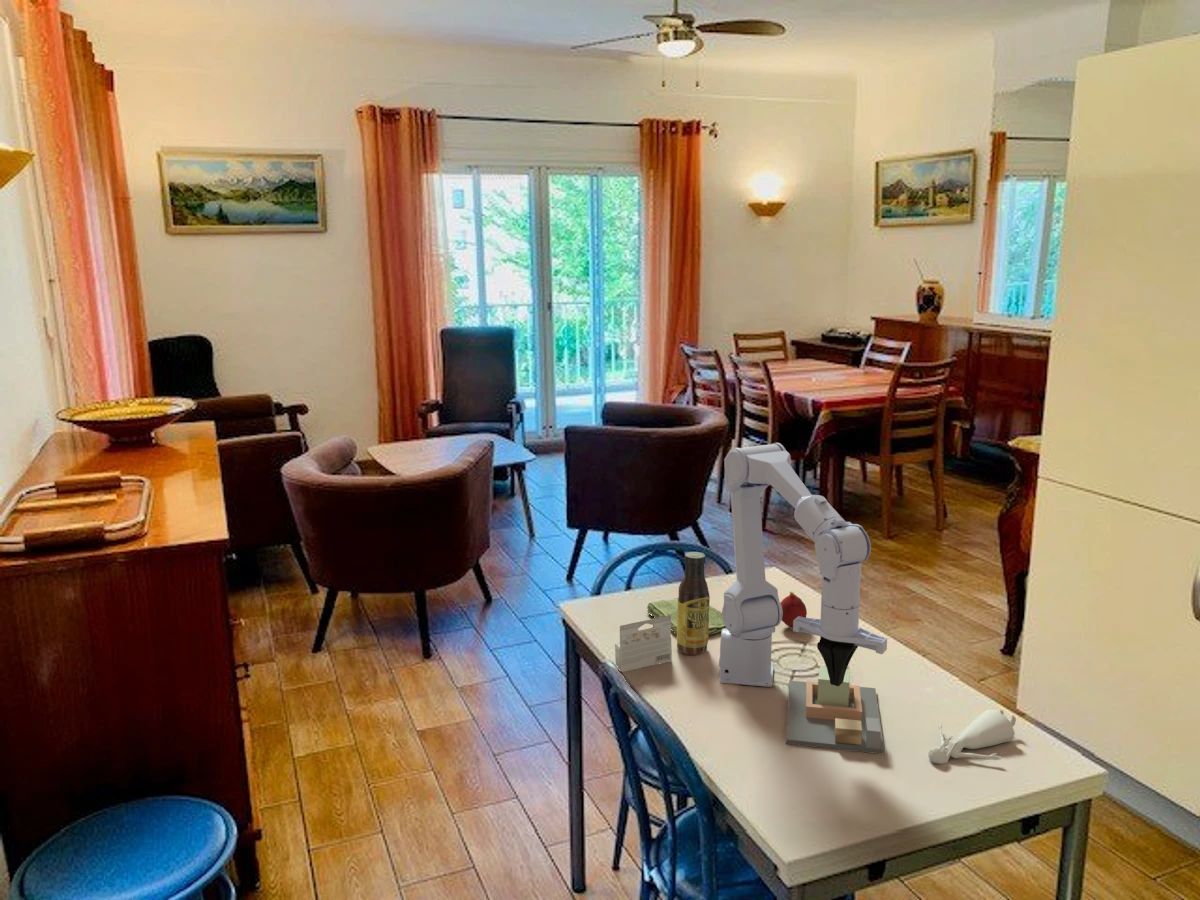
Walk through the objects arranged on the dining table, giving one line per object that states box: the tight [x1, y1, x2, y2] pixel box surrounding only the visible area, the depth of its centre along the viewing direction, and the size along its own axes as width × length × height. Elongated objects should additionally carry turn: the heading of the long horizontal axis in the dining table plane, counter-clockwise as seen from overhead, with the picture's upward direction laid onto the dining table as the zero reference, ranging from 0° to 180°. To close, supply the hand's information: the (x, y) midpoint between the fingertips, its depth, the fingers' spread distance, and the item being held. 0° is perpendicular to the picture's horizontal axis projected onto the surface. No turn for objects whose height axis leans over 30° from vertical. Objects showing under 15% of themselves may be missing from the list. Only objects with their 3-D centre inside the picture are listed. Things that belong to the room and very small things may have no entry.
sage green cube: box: [817, 665, 851, 707], centre depth 149 cm, size 5×5×6 cm
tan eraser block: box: [835, 718, 862, 745], centre depth 139 cm, size 4×3×2 cm
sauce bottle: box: [676, 551, 711, 656], centre depth 172 cm, size 7×6×20 cm
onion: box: [780, 590, 808, 629], centre depth 182 cm, size 6×6×8 cm
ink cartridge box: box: [614, 615, 673, 673], centre depth 167 cm, size 2×11×10 cm, turn 113°
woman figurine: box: [928, 709, 1017, 765], centre depth 138 cm, size 12×4×18 cm
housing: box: [785, 680, 885, 755], centre depth 147 cm, size 15×20×4 cm
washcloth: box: [646, 597, 727, 636], centre depth 187 cm, size 13×18×3 cm
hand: (836, 682), depth 138 cm, fingers closed
